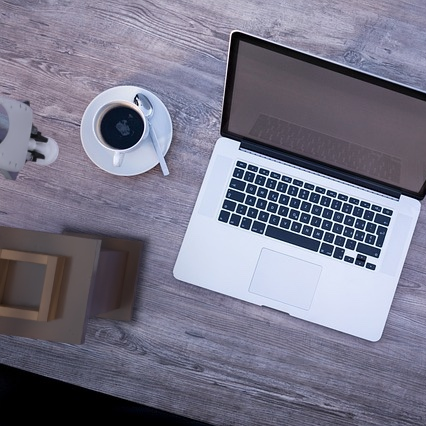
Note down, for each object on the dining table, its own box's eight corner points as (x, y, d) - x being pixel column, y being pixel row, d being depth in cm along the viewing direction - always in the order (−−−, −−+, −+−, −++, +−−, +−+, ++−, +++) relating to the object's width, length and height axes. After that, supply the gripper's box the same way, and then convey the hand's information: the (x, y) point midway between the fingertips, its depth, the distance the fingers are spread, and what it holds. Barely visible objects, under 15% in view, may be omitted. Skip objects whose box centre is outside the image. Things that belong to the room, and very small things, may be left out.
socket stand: (-35, 327, 77) (-54, 331, 73) (-17, 223, 78) (-34, 221, 74) (84, 343, 77) (72, 348, 73) (101, 239, 78) (90, 239, 74)
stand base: (52, 309, 102) (-28, 328, 77) (66, 231, 103) (-9, 224, 78) (131, 320, 102) (77, 342, 77) (144, 241, 103) (94, 238, 78)
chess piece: (64, 146, 96) (39, 134, 86) (47, 171, 96) (19, 161, 86) (40, 130, 96) (11, 115, 86) (22, 154, 96) (-9, 142, 86)
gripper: (-42, 58, 76) (22, 96, 94) (-65, 178, 75) (5, 193, 93) (16, 67, 76) (69, 103, 94) (-6, 186, 75) (52, 199, 93)
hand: (36, 147), depth 94 cm, fingers closed on chess piece
